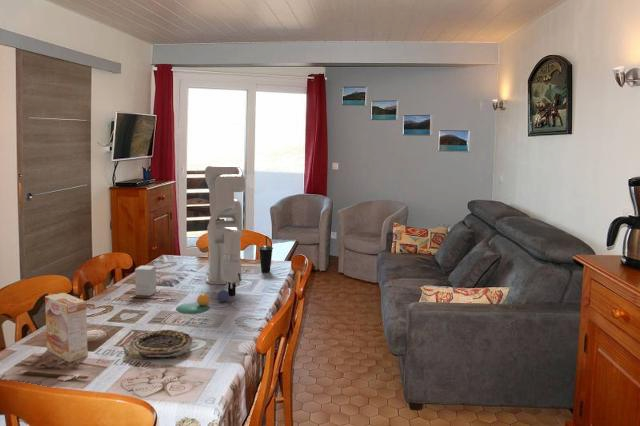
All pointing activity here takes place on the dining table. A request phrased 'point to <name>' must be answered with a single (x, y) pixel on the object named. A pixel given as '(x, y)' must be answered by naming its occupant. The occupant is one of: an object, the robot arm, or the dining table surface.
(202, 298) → the orange ball
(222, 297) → the dark blue ball
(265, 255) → the drinking cup
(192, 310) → the green mark
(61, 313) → the coffeecake box
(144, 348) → the woven basket
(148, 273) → the supplement box
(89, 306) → the dining table surface
